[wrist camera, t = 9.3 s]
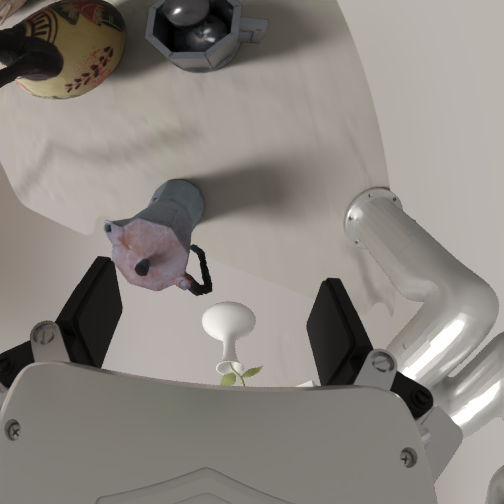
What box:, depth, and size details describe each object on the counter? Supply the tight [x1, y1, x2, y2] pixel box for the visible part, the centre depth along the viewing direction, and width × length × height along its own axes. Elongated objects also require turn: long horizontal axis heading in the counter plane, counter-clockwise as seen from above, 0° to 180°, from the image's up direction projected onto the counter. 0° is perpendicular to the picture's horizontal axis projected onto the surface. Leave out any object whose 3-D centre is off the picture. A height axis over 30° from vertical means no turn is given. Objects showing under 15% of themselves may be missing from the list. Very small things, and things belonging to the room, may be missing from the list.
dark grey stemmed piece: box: [163, 0, 227, 52], centre depth 21 cm, size 7×7×14 cm
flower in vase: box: [202, 302, 262, 387], centre depth 47 cm, size 13×11×25 cm
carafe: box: [145, 0, 268, 73], centre depth 25 cm, size 14×11×12 cm
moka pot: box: [104, 180, 212, 296], centre depth 35 cm, size 10×15×20 cm, turn 52°
